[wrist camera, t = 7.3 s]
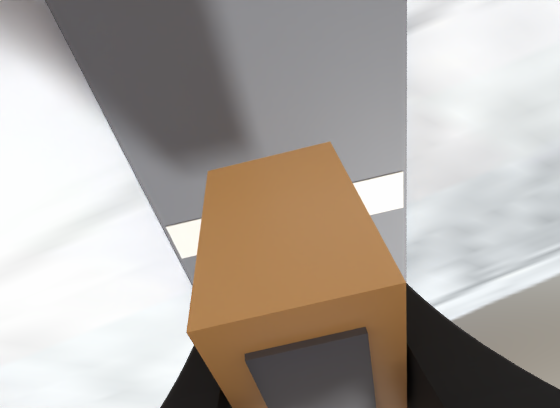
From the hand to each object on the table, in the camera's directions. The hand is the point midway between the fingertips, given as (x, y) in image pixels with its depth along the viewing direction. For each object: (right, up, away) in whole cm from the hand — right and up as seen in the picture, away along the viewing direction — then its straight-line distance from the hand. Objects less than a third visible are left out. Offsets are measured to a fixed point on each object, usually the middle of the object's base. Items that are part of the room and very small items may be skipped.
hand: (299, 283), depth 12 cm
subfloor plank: (-1, +4, +7) cm, 8 cm away
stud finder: (0, +1, +1) cm, 2 cm away
